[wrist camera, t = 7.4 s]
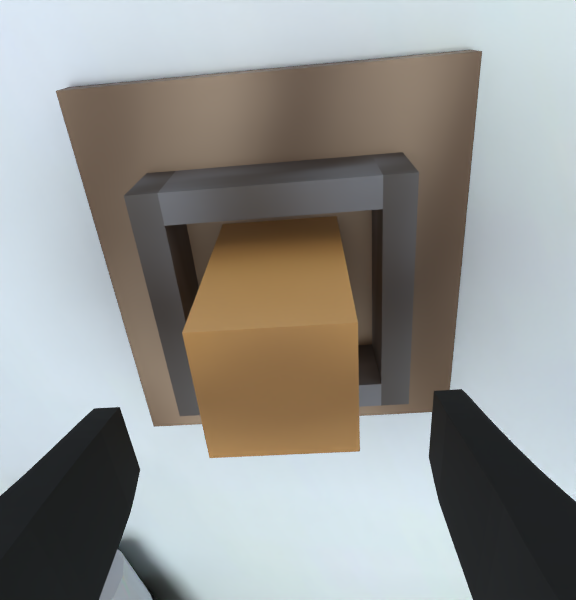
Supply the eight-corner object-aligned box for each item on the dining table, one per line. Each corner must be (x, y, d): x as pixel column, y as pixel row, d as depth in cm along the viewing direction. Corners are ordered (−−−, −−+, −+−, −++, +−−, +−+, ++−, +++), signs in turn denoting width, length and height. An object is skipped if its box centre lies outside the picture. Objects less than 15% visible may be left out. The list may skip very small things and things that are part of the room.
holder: (471, 49, 15) (514, 56, 12) (441, 396, 22) (464, 454, 19) (68, 87, 16) (15, 101, 13) (159, 411, 23) (137, 470, 20)
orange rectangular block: (336, 216, 17) (358, 322, 11) (339, 314, 19) (359, 451, 13) (222, 224, 17) (181, 332, 11) (237, 320, 19) (209, 457, 13)
